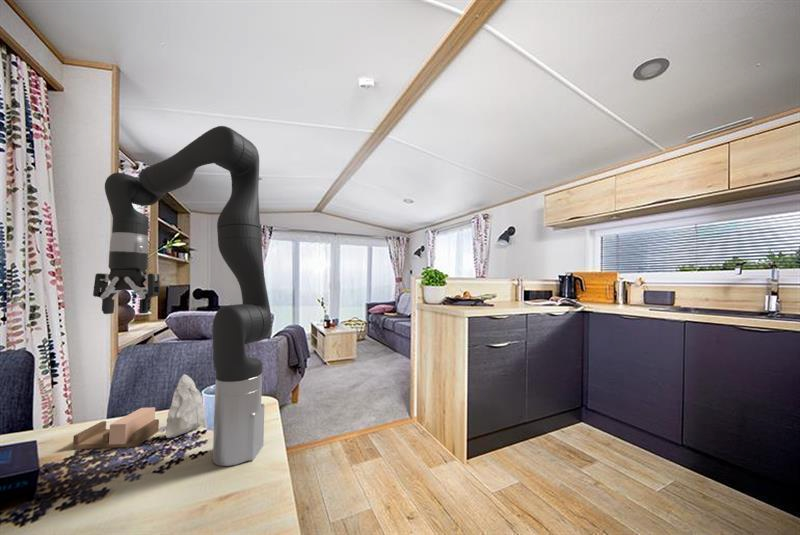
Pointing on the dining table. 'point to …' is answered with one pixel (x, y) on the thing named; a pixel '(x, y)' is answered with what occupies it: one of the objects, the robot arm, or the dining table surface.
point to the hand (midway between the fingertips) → (126, 313)
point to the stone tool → (185, 408)
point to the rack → (100, 436)
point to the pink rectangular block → (130, 425)
